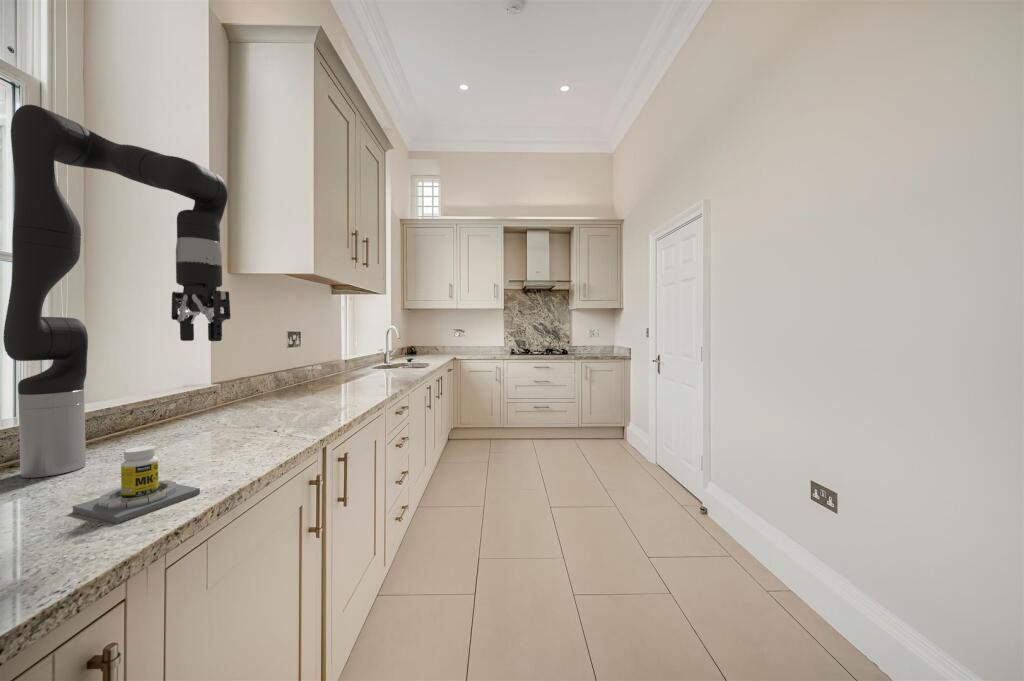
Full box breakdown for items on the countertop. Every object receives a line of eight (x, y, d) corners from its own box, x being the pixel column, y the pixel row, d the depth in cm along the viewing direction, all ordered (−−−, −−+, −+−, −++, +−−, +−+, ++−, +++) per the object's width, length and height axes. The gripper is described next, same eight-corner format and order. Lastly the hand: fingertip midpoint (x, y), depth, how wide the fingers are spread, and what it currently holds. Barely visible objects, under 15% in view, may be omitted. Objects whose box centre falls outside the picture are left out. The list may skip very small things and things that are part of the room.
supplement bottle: (135, 503, 66) (134, 453, 66) (114, 500, 67) (112, 452, 67) (165, 491, 71) (164, 445, 71) (145, 489, 72) (144, 444, 72)
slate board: (72, 512, 65) (72, 506, 65) (158, 485, 77) (157, 480, 77) (116, 523, 61) (116, 517, 61) (199, 493, 73) (199, 488, 73)
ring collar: (85, 504, 66) (85, 498, 66) (154, 483, 75) (154, 478, 75) (121, 513, 63) (121, 506, 63) (189, 489, 72) (189, 484, 72)
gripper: (156, 262, 80) (157, 341, 81) (203, 257, 76) (205, 341, 76) (195, 267, 88) (197, 340, 88) (241, 264, 83) (243, 340, 83)
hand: (200, 340), depth 82 cm, fingers open, 8 cm apart
